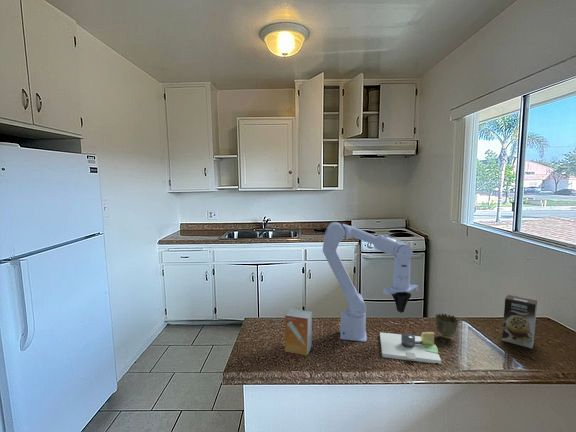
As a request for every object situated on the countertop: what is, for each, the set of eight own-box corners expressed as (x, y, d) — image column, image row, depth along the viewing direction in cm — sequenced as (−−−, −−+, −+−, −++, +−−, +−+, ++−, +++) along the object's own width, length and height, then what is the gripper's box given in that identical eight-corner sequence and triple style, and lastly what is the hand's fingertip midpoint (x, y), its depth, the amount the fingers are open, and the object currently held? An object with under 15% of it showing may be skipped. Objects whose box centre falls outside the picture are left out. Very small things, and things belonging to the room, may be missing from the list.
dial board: (382, 359, 103) (382, 355, 102) (379, 335, 120) (379, 331, 119) (444, 367, 98) (444, 362, 98) (432, 341, 115) (432, 337, 115)
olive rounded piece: (459, 343, 113) (460, 322, 113) (437, 341, 115) (438, 320, 114) (453, 334, 121) (454, 314, 120) (432, 332, 122) (433, 312, 122)
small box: (284, 352, 107) (284, 315, 106) (289, 343, 113) (290, 308, 112) (307, 356, 104) (308, 318, 103) (311, 347, 110) (312, 311, 109)
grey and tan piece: (404, 347, 107) (404, 336, 107) (399, 341, 112) (399, 330, 111) (436, 346, 108) (436, 335, 107) (429, 340, 112) (430, 330, 112)
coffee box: (501, 340, 116) (504, 298, 114) (504, 334, 120) (507, 293, 119) (532, 349, 109) (535, 304, 108) (534, 342, 114) (537, 299, 113)
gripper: (393, 280, 109) (391, 318, 110) (425, 276, 114) (423, 312, 115) (380, 275, 115) (379, 311, 116) (411, 271, 120) (409, 306, 122)
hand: (400, 311), depth 116 cm, fingers closed
